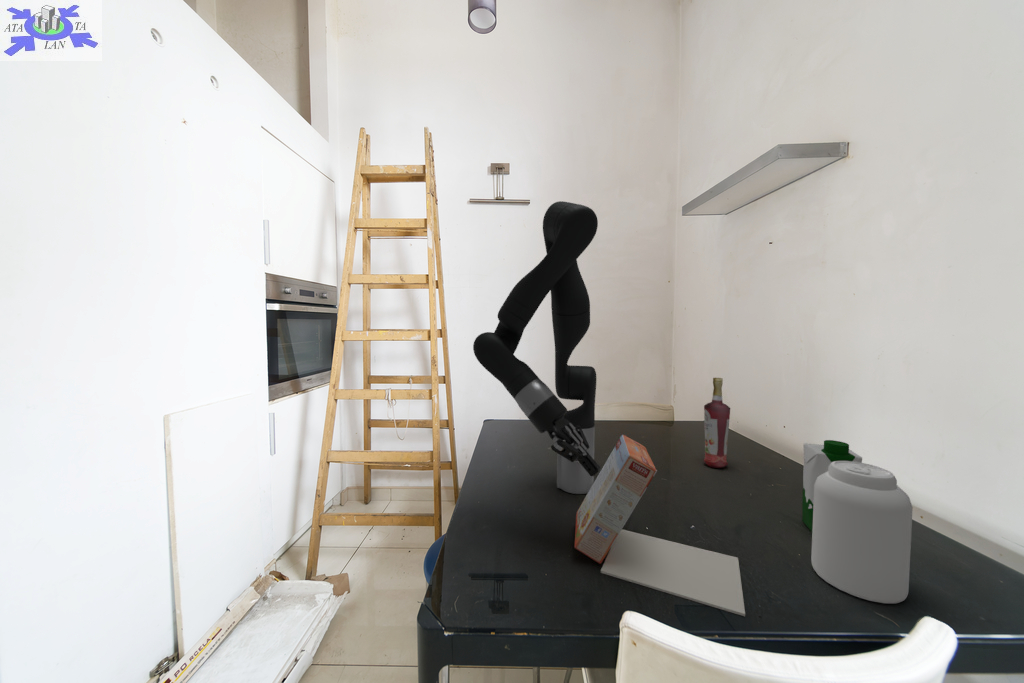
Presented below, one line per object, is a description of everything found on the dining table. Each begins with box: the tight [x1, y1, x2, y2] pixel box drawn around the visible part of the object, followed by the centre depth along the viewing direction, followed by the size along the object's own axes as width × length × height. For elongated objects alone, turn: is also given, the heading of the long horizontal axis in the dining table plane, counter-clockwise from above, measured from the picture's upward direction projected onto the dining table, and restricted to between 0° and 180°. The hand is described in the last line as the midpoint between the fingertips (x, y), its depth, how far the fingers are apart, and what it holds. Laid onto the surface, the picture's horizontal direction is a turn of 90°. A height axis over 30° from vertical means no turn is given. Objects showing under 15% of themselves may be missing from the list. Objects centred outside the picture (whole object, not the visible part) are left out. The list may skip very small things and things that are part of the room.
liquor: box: [703, 377, 731, 469], centre depth 121 cm, size 7×7×28 cm
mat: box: [600, 528, 746, 617], centre depth 70 cm, size 22×16×1 cm
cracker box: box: [574, 434, 658, 565], centre depth 76 cm, size 14×6×21 cm, turn 168°
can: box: [810, 461, 913, 604], centre depth 66 cm, size 12×12×20 cm
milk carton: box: [801, 439, 863, 533], centre depth 82 cm, size 9×9×20 cm
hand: (596, 472), depth 76 cm, fingers closed
